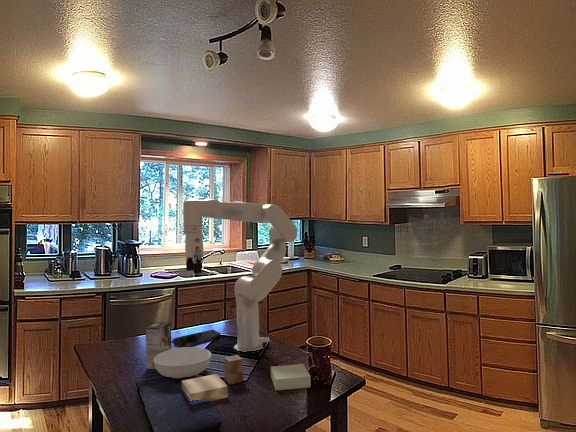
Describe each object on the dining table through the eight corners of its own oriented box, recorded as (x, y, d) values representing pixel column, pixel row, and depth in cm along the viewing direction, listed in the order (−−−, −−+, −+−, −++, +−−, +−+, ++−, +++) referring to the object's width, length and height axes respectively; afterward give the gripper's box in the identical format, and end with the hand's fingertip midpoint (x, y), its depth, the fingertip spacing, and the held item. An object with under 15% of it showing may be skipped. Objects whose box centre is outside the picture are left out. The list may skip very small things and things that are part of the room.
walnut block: (237, 376, 151) (237, 354, 151) (243, 381, 147) (242, 358, 147) (224, 379, 149) (224, 357, 149) (229, 384, 144) (229, 361, 144)
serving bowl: (182, 389, 141) (182, 369, 141) (141, 378, 152) (141, 359, 152) (223, 369, 159) (222, 351, 159) (183, 360, 170) (183, 343, 170)
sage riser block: (303, 374, 153) (303, 363, 153) (310, 388, 141) (310, 376, 141) (270, 377, 151) (270, 366, 151) (275, 391, 139) (275, 379, 139)
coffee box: (157, 360, 170) (157, 321, 170) (172, 361, 169) (171, 321, 169) (145, 368, 161) (144, 327, 161) (161, 369, 160) (160, 328, 160)
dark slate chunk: (225, 339, 200) (225, 329, 200) (184, 350, 184) (184, 339, 184) (207, 333, 211) (207, 323, 211) (167, 343, 195) (167, 332, 195)
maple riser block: (216, 385, 145) (216, 373, 145) (227, 398, 134) (227, 386, 134) (181, 392, 140) (181, 380, 140) (190, 407, 129) (190, 394, 129)
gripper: (209, 230, 165) (210, 273, 165) (195, 229, 180) (196, 268, 180) (190, 230, 161) (191, 275, 161) (178, 229, 176) (178, 270, 176)
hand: (193, 271), depth 170 cm, fingers open, 9 cm apart
